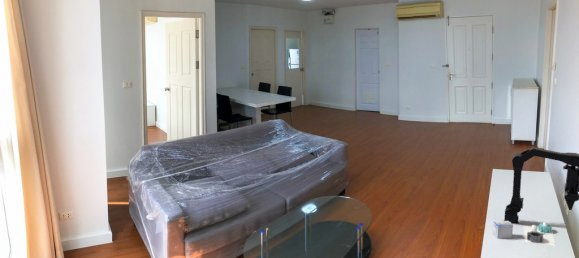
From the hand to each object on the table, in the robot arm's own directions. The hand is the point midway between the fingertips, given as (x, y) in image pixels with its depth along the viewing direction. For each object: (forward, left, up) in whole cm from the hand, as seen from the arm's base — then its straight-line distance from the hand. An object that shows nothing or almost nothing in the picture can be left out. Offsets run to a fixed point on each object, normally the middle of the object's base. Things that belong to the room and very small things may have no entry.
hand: (570, 206), depth 222 cm
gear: (-16, -18, -13) cm, 27 cm away
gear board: (-14, -12, -14) cm, 23 cm away
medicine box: (-30, -20, -14) cm, 39 cm away
